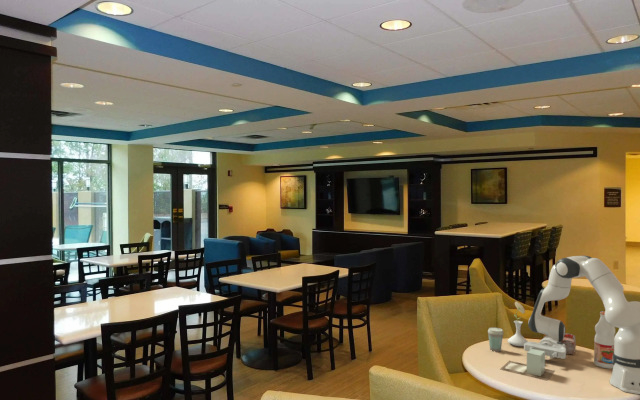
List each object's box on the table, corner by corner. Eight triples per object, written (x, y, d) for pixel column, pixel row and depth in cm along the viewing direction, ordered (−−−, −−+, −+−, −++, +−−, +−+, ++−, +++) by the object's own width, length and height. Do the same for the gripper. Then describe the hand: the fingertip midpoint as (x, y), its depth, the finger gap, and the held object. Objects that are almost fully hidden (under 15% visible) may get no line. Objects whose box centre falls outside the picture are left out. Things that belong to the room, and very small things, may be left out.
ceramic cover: (544, 371, 230) (545, 351, 230) (540, 376, 223) (540, 355, 223) (531, 368, 234) (531, 348, 234) (526, 373, 227) (526, 352, 227)
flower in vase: (530, 348, 266) (531, 305, 266) (509, 347, 268) (510, 304, 268) (525, 341, 279) (525, 300, 279) (505, 340, 281) (506, 299, 281)
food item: (575, 356, 254) (576, 338, 254) (559, 353, 258) (560, 336, 257) (575, 348, 266) (576, 331, 266) (560, 346, 270) (560, 329, 269)
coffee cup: (500, 353, 257) (501, 332, 257) (485, 350, 262) (485, 329, 262) (505, 349, 264) (505, 329, 264) (490, 346, 269) (490, 326, 269)
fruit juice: (603, 361, 247) (604, 309, 246) (619, 367, 238) (620, 313, 237) (589, 363, 244) (590, 310, 244) (605, 369, 235) (606, 315, 235)
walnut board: (554, 372, 230) (554, 370, 230) (547, 382, 218) (547, 380, 218) (509, 362, 244) (509, 360, 244) (499, 371, 231) (499, 369, 231)
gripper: (527, 337, 256) (520, 343, 245) (568, 345, 243) (563, 352, 232) (527, 348, 256) (520, 355, 245) (568, 357, 243) (563, 364, 232)
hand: (541, 354), depth 238 cm, fingers open, 8 cm apart
